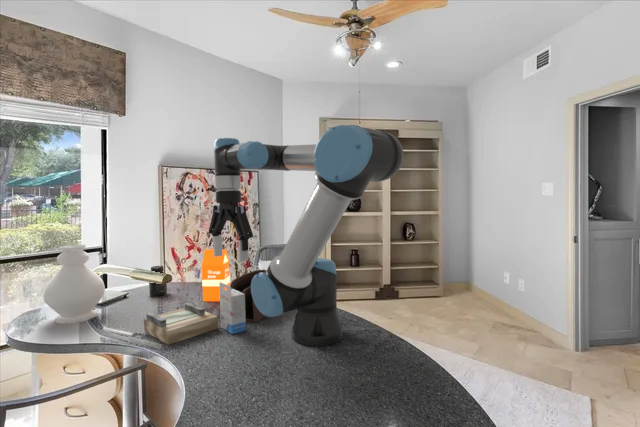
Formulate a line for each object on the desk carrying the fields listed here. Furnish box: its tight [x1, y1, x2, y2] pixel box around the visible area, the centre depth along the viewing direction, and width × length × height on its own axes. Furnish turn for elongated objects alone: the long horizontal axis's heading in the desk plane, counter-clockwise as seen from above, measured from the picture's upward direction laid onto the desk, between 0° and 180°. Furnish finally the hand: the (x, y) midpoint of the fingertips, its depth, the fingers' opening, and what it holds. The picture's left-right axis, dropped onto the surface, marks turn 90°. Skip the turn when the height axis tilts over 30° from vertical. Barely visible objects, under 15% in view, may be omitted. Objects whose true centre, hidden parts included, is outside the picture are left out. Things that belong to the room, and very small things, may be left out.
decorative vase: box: [43, 244, 106, 325], centre depth 129 cm, size 18×18×25 cm
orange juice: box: [201, 248, 231, 302], centre depth 149 cm, size 8×9×20 cm
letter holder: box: [230, 269, 267, 324], centre depth 132 cm, size 10×20×14 cm, turn 152°
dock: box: [143, 302, 219, 346], centre depth 116 cm, size 16×16×6 cm
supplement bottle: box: [148, 265, 168, 298], centre depth 156 cm, size 7×7×12 cm
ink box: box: [219, 282, 247, 335], centre depth 116 cm, size 8×5×15 cm, turn 39°
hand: (230, 258), depth 115 cm, fingers open, 13 cm apart
